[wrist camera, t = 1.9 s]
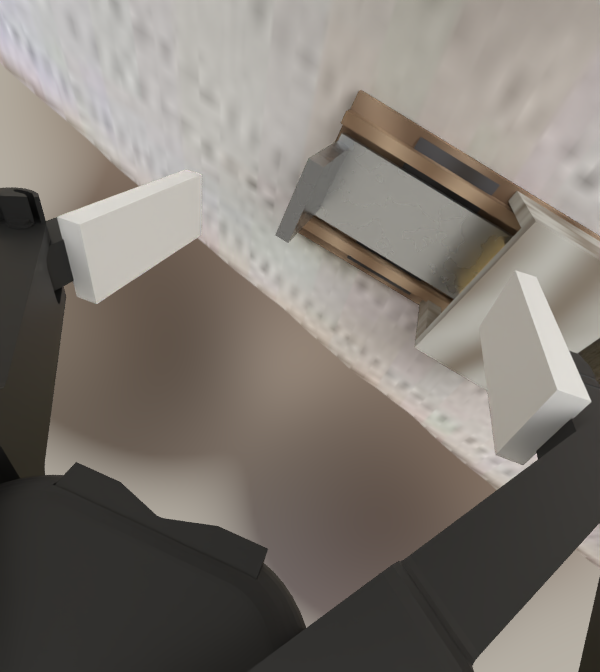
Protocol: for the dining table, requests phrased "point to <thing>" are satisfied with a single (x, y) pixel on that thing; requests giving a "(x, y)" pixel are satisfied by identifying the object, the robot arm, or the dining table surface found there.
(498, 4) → the dining table surface
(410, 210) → the grey u-shaped piece
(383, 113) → the tunnel board
